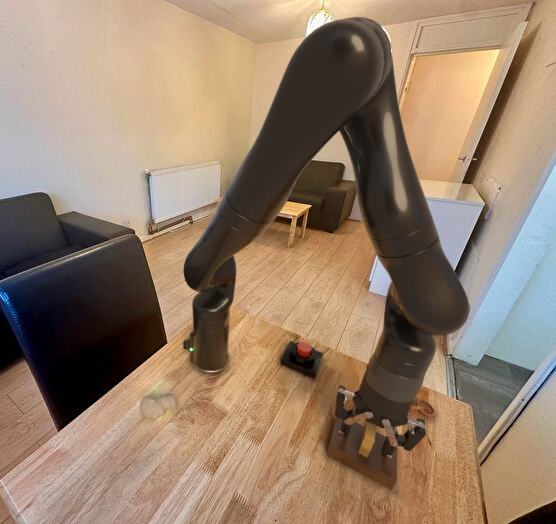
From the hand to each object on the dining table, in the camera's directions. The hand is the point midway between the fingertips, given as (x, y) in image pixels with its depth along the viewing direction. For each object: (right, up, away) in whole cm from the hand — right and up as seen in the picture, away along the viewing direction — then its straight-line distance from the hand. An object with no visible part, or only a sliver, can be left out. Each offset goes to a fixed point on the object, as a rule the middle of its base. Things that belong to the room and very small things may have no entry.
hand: (364, 442), depth 55 cm
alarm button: (-5, +11, +21) cm, 24 cm away
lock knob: (0, 0, 0) cm, 0 cm away
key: (+13, +1, +9) cm, 16 cm away
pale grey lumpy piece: (-41, +1, +10) cm, 42 cm away
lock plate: (0, -3, +2) cm, 3 cm away
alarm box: (-5, +8, +23) cm, 24 cm away
